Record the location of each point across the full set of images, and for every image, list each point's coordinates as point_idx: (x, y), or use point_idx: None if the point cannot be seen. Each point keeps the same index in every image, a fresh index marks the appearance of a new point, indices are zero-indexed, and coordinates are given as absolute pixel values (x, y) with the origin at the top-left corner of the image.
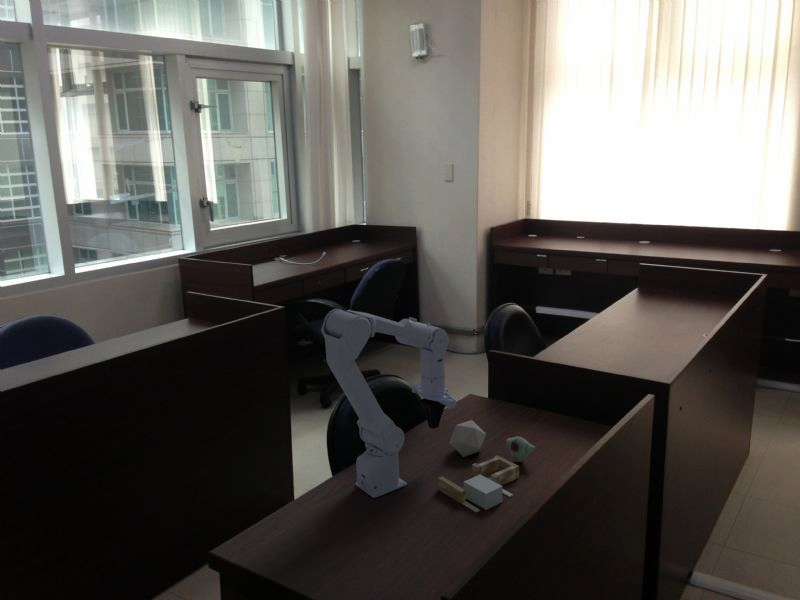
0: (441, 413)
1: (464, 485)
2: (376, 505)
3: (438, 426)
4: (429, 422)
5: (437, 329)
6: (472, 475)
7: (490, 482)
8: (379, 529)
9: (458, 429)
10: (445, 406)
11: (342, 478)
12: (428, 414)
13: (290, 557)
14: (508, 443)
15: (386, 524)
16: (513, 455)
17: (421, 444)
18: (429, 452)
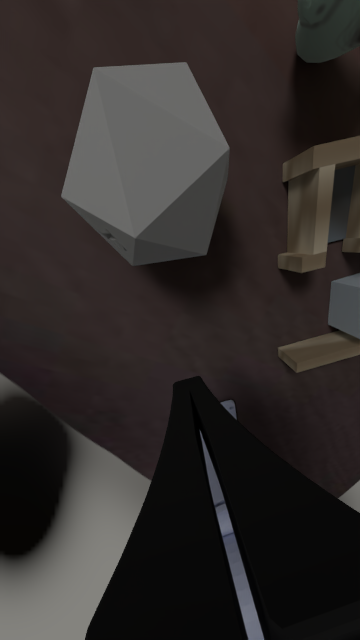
0: (251, 439)
1: (355, 335)
2: None
3: (202, 380)
4: (201, 440)
5: None
6: (280, 267)
7: None
8: (305, 447)
9: (163, 238)
10: (328, 496)
11: (153, 473)
12: (213, 501)
13: None
14: (327, 10)
15: (302, 440)
16: (329, 59)
17: (46, 314)
18: (108, 312)
